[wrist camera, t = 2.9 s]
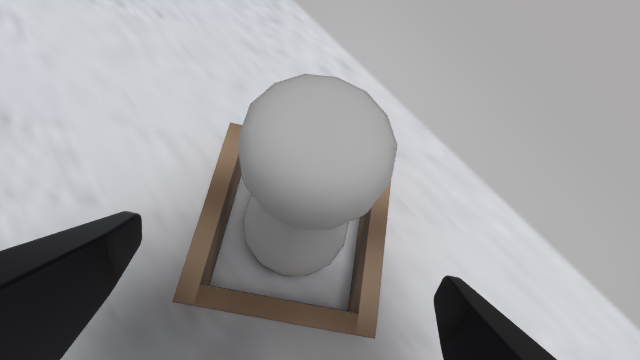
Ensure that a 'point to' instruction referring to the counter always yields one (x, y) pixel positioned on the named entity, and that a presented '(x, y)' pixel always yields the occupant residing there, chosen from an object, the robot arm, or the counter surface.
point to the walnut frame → (200, 294)
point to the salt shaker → (311, 169)
